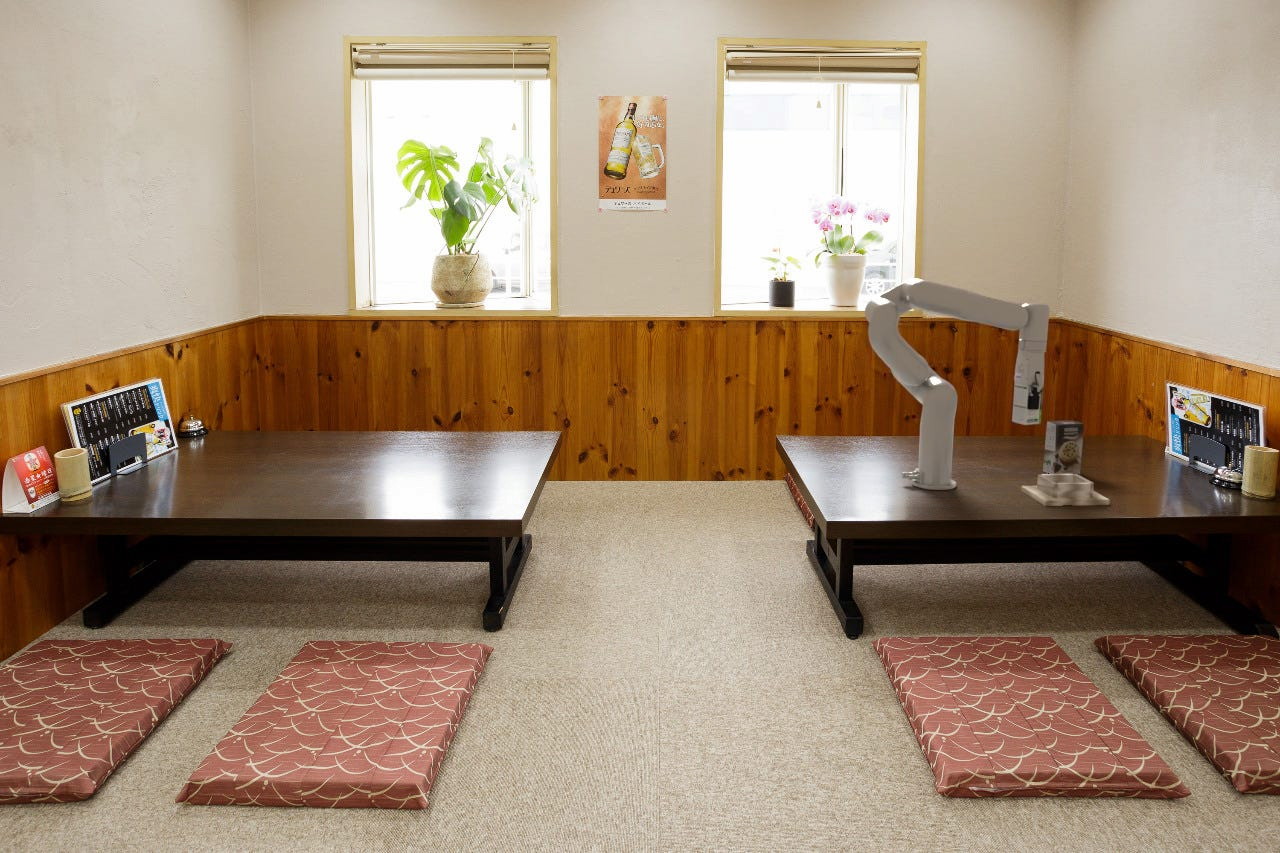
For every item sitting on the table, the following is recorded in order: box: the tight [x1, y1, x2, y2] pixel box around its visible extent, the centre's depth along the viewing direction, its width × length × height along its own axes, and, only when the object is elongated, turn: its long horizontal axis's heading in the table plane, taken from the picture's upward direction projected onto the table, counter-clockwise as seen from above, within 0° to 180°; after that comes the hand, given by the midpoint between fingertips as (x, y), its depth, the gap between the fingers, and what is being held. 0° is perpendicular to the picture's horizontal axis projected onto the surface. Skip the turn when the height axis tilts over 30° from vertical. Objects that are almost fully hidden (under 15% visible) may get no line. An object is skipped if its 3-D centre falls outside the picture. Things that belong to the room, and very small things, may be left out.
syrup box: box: [1011, 373, 1045, 426], centre depth 300 cm, size 6×6×14 cm
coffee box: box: [1042, 419, 1085, 475], centre depth 318 cm, size 9×6×16 cm
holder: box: [1020, 473, 1110, 507], centre depth 291 cm, size 18×16×6 cm
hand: (1027, 406), depth 300 cm, fingers closed on syrup box, 7 cm apart
